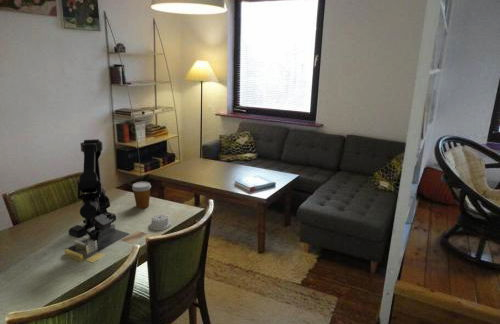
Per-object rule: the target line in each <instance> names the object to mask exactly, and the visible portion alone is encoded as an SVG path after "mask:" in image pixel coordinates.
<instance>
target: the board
mask: <svg viewBox="0 0 500 324" xmlns="http://www.w3.org/2000/svg"><path fill="white" fill-rule="evenodd" d="M147 235H148V233H147V232H144V231H140V230H136V231H134V232H132V233H129V235H127V236H126V237H124V238H122V239H120V241H121V242H124V243H129V244H132V243H135V242H137V241H138V240H139V239H142V238H143V237H144V236H147Z"/></svg>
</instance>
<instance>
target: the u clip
mask: <svg viewBox="0 0 500 324" xmlns="http://www.w3.org/2000/svg"><path fill="white" fill-rule="evenodd" d="M82 239H83V242H80V240H78V239H77V240H73V244H74V247H75V251H76V252H78V253H81V254H84V255H86V256H88V255H90V254H92V253H93V252H95V251H97V250H98V248H97V240H95V239H92V238H89V237H88V236H87V235H85V236H83V237H82Z"/></svg>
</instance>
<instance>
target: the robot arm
mask: <svg viewBox="0 0 500 324" xmlns="http://www.w3.org/2000/svg"><path fill="white" fill-rule="evenodd" d="M103 145H104V144H103V141H101V140H100V139H99V138H98V139H97V138H96V139H84V140H83V142H80V152H81V153H83V172H82V173H81V174H80V175H79V180H78V182H77V200H82V202H81V206H80V209H79V215H80V216H81V217H82V218H83V220H82V222H83V223H82V224H85V225H79V224H77V225H74V226H73V227H70V228H69V229H68V235H69V236H71V237H74V238H76V239H81V238H83V236H87V235H88V236H89V237H90V238H92V239H95V240H97V242H98V238H99V235H100V232H101V231H104V230H105V229H107V228H110V227H111V225H112V224H113V223H115V222H116V221H117V215H116V214H115V213H112V212H109V211H108V210H107V209H109V208H110V207H111V202H110V201H111V200H110V198H109V197H108V195H107V193H106V190H105V189H104V188H103V187H102V178H101V177H102V176H101V169H100V157H101V155H102V153H103V152H102V151H103V147H104V146H103Z"/></svg>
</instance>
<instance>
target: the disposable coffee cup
mask: <svg viewBox="0 0 500 324" xmlns="http://www.w3.org/2000/svg"><path fill="white" fill-rule="evenodd" d="M151 188H152V185H151V182H148V181H137V182H135V183H133V184H132V187H131V189H132V191H133V196H134V201H135V205H136V208H138V209H146V208H148V207H149V206H150V198H151Z"/></svg>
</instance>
